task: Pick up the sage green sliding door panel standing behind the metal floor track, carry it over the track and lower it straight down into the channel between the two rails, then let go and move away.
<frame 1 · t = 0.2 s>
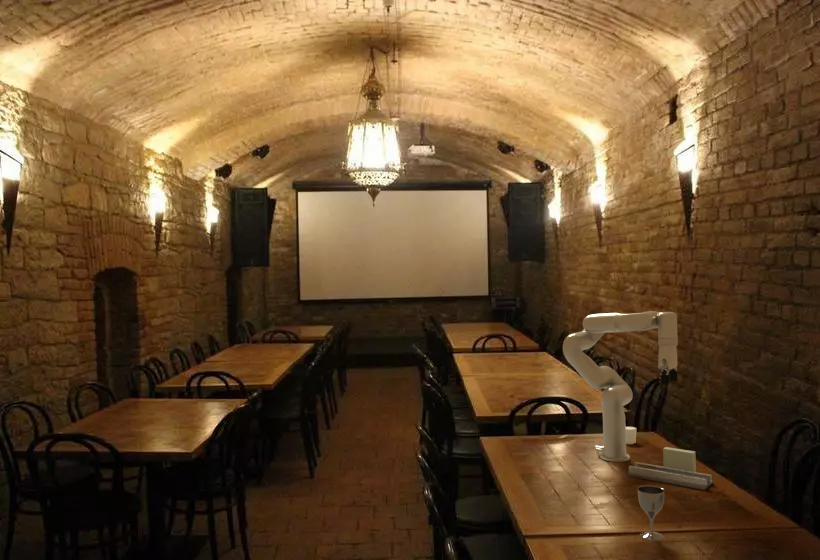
hand: (669, 382, 284), 36 cm above the table, tool pointing down, fingers open, 9 cm apart
shot glass: (629, 442, 326), on the table
door panel: (679, 471, 280), on the table
wine glass: (651, 536, 217), on the table
floor track: (669, 479, 271), on the table
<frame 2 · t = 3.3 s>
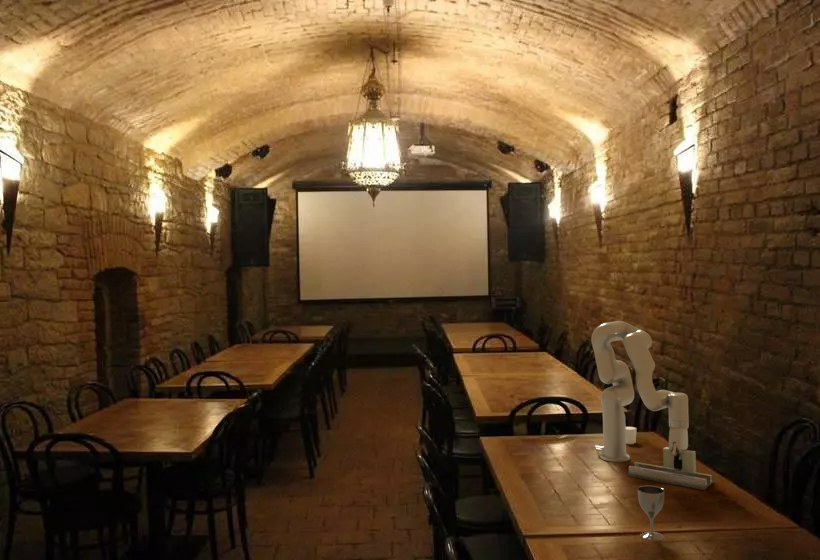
hand: (679, 467, 280), 2 cm above the table, tool pointing down, fingers closed on door panel, 3 cm apart
door panel: (679, 471, 280), on the table, touching gripper
everything else where it was.
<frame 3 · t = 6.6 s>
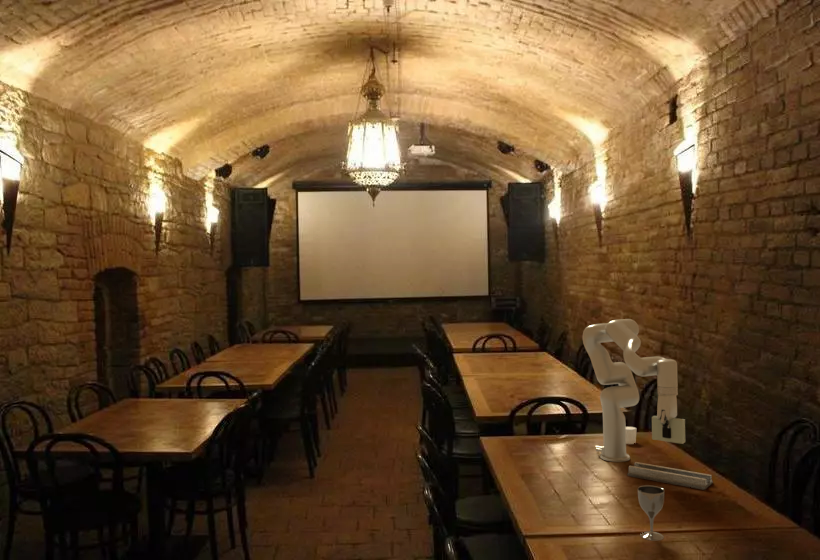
hand: (668, 436, 270), 17 cm above the table, tool pointing down, fingers closed on door panel, 3 cm apart
door panel: (668, 440, 270), point 15 cm above the table, touching gripper
everything else where it was.
when the fingers open (4 cm above the table, at t = 9.9 s): door panel drops 1 cm, resting on floor track.
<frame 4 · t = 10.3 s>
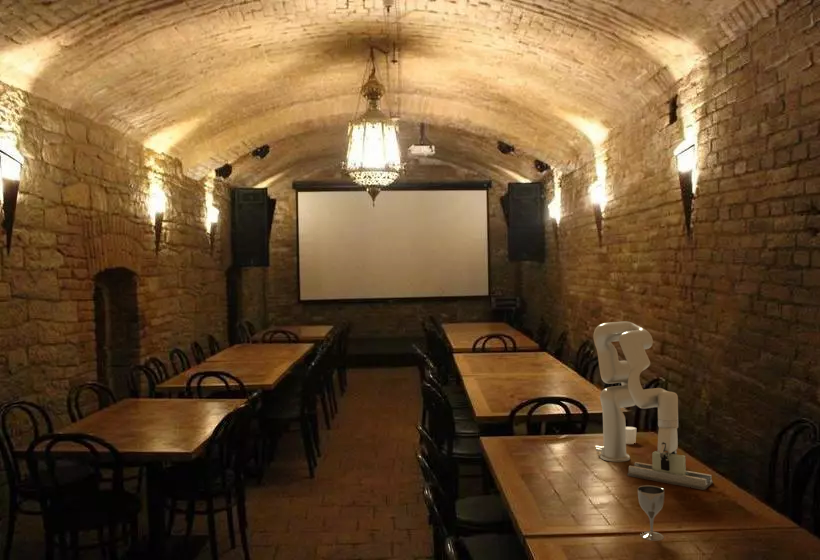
hand: (668, 467, 271), 5 cm above the table, tool pointing down, fingers open, 7 cm apart
door panel: (669, 476, 271), point 1 cm above the table, touching floor track
everything else where it was.
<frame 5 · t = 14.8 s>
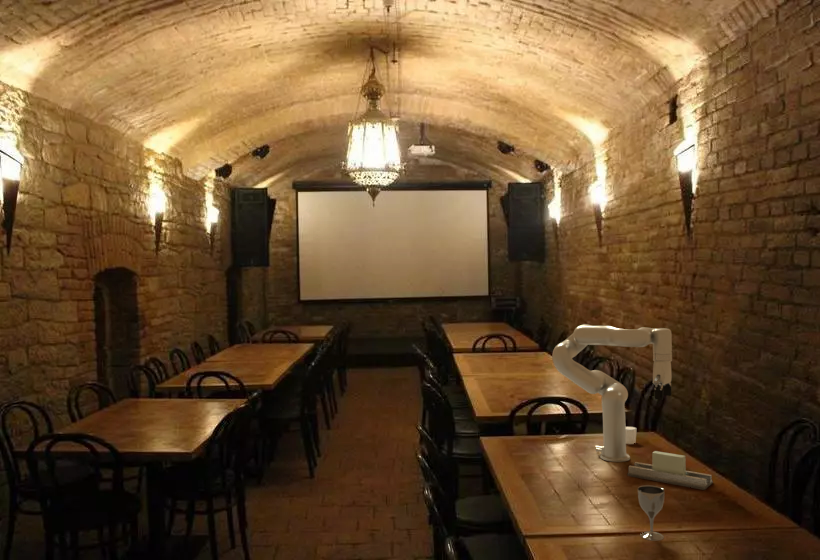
hand: (663, 397, 291), 28 cm above the table, tool pointing down, fingers open, 9 cm apart
nothing on the table moved.
at the end: door panel inside the target area on the floor track (0.1 cm from its centre), point 1.0 cm above the floor track's base; door panel tilted 0°; the gripper is holding nothing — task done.
